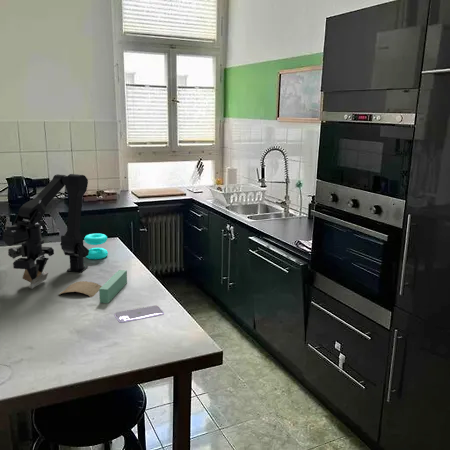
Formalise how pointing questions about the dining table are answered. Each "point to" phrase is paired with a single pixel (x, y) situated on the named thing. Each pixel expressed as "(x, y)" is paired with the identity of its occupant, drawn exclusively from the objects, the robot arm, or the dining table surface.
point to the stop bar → (113, 286)
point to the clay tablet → (83, 288)
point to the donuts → (96, 240)
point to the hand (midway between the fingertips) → (36, 279)
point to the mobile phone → (138, 313)
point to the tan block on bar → (37, 280)
